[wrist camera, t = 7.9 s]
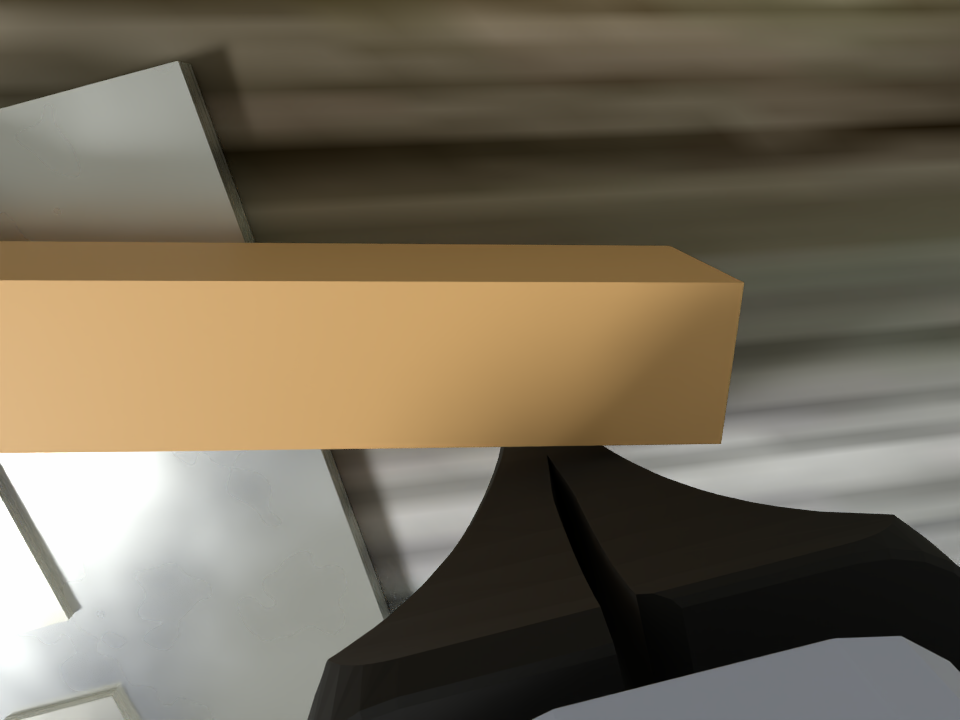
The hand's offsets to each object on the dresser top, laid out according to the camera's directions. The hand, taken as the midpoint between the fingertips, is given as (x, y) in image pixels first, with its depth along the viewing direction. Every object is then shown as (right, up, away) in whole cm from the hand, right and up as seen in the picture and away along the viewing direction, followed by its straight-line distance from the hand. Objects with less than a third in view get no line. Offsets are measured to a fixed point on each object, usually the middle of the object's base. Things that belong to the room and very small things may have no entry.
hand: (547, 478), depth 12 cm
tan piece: (-6, +3, -1) cm, 7 cm away
